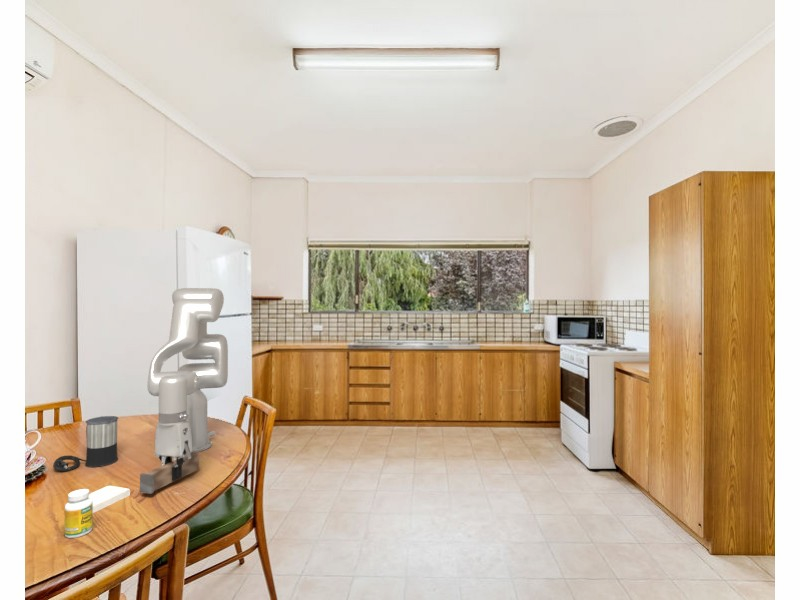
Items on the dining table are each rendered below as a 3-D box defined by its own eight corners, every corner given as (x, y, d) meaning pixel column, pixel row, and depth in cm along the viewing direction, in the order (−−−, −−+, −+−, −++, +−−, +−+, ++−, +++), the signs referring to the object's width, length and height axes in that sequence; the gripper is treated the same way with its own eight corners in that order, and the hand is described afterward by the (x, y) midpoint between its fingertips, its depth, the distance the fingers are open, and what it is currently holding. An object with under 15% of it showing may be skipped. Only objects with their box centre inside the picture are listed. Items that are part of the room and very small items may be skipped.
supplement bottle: (75, 527, 104) (75, 487, 104) (97, 526, 104) (98, 487, 104) (58, 539, 98) (58, 497, 98) (82, 538, 99) (82, 497, 99)
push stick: (190, 468, 137) (190, 452, 137) (200, 469, 136) (200, 453, 136) (139, 492, 119) (140, 474, 119) (151, 493, 118) (151, 475, 118)
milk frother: (124, 459, 148) (125, 416, 148) (79, 477, 133) (80, 429, 133) (93, 455, 152) (93, 413, 152) (46, 472, 137) (46, 426, 137)
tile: (108, 485, 123) (65, 504, 112) (130, 488, 121) (88, 508, 109) (108, 492, 123) (65, 512, 112) (130, 496, 121) (88, 517, 109)
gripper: (204, 416, 129) (203, 476, 129) (161, 412, 134) (161, 470, 134) (185, 422, 122) (184, 487, 122) (141, 418, 127) (140, 480, 127)
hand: (172, 478), depth 128 cm, fingers closed on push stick, 2 cm apart
